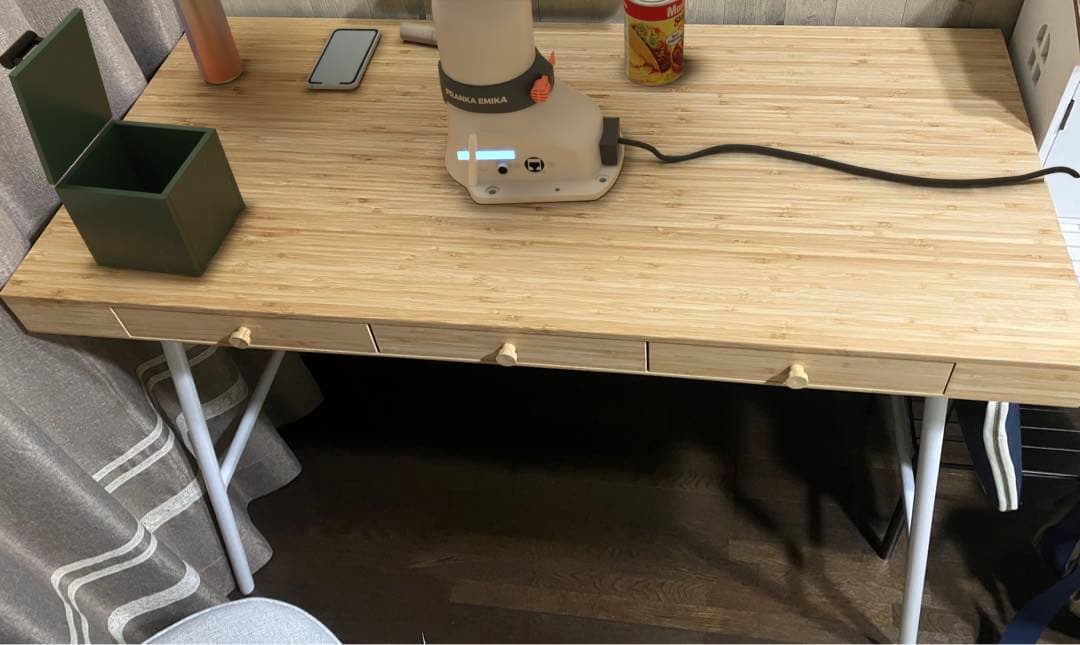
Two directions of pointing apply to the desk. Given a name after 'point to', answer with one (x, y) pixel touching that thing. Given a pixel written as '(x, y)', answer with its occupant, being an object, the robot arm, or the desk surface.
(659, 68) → the canned food
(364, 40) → the smartphone
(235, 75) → the beverage can
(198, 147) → the dark green box
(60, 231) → the desk surface
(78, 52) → the lid
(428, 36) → the rod
